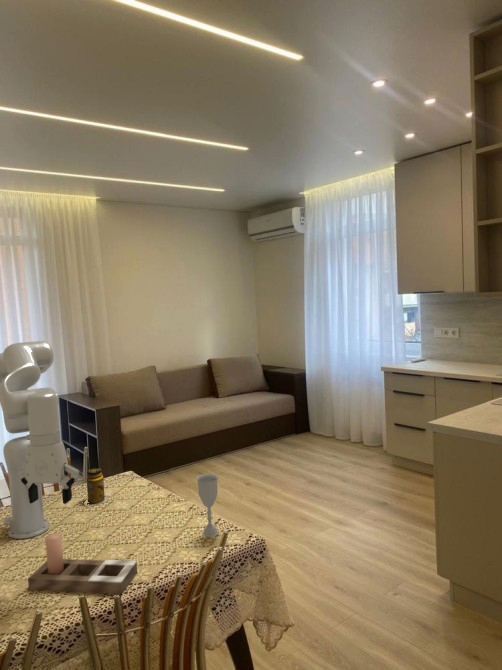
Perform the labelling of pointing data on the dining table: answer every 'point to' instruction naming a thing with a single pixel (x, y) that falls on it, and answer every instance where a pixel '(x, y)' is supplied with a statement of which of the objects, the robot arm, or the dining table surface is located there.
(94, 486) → the condiment
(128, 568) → the block with square holes
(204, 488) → the chalice
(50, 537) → the peg
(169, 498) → the dining table surface
